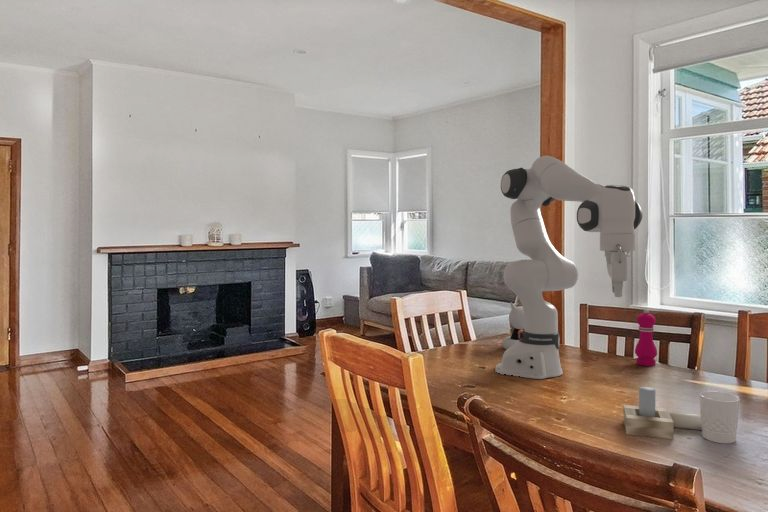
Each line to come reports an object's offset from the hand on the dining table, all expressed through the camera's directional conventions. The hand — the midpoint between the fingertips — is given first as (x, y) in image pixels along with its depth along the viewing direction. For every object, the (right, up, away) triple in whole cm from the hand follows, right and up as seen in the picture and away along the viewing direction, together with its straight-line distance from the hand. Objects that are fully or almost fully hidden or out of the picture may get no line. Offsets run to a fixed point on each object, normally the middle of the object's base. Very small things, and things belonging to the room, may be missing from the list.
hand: (616, 294), depth 147 cm
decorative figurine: (-8, -28, +72) cm, 77 cm away
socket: (+1, -32, -15) cm, 35 cm away
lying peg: (+11, -29, -16) cm, 35 cm away
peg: (+1, -32, -15) cm, 36 cm away
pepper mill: (+30, -29, +46) cm, 62 cm away
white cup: (+14, -32, -22) cm, 41 cm away
